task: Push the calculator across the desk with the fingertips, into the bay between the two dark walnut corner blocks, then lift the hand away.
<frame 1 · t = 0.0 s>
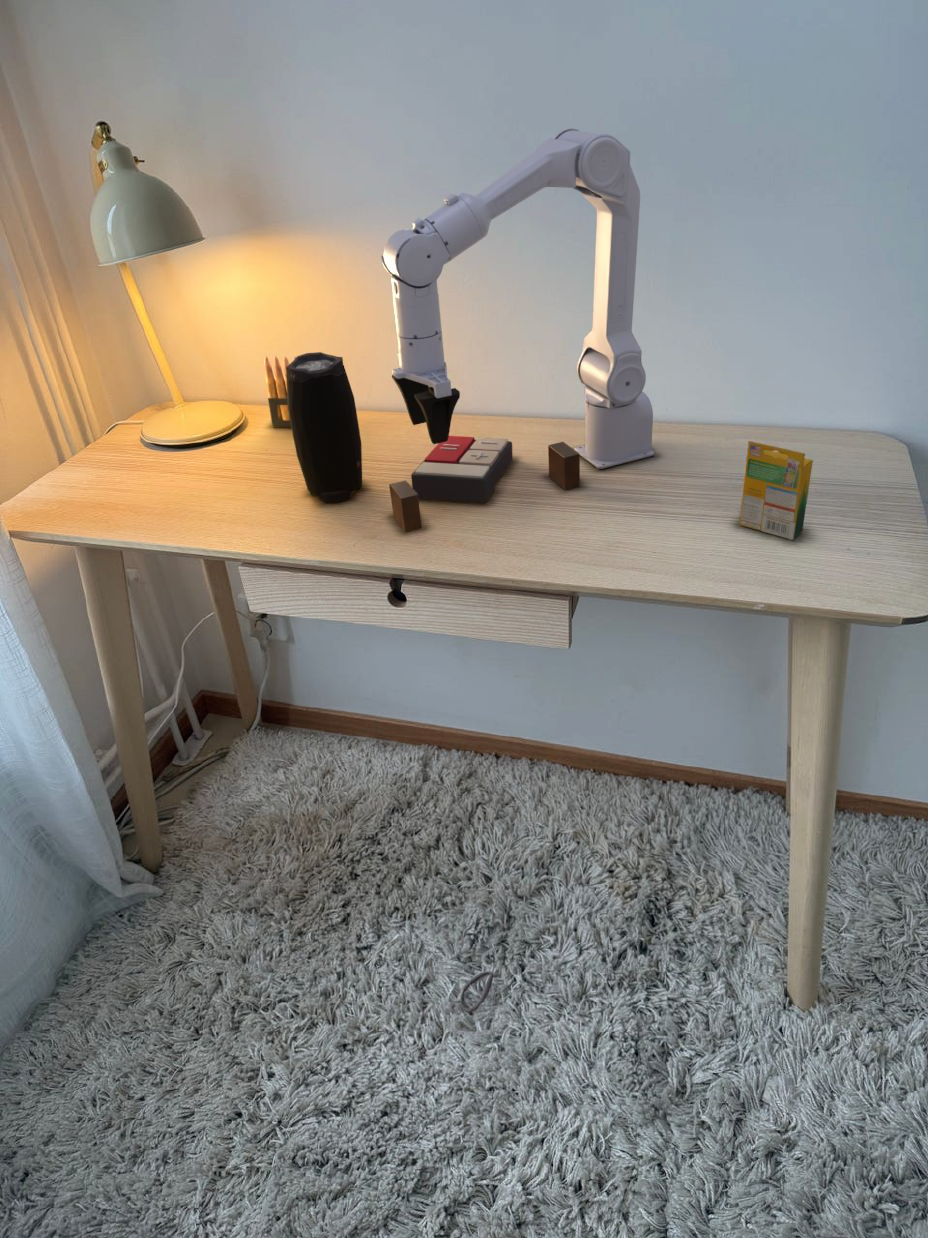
hand: (429, 432, 125), 10 cm above the table, tool pointing down, fingers open, 7 cm apart
corner blocks: (487, 501, 128), on the table
ammunition clip: (303, 426, 157), on the table
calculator: (464, 479, 135), on the table
crayon box: (770, 529, 116), on the table
portable speaker: (336, 492, 135), on the table
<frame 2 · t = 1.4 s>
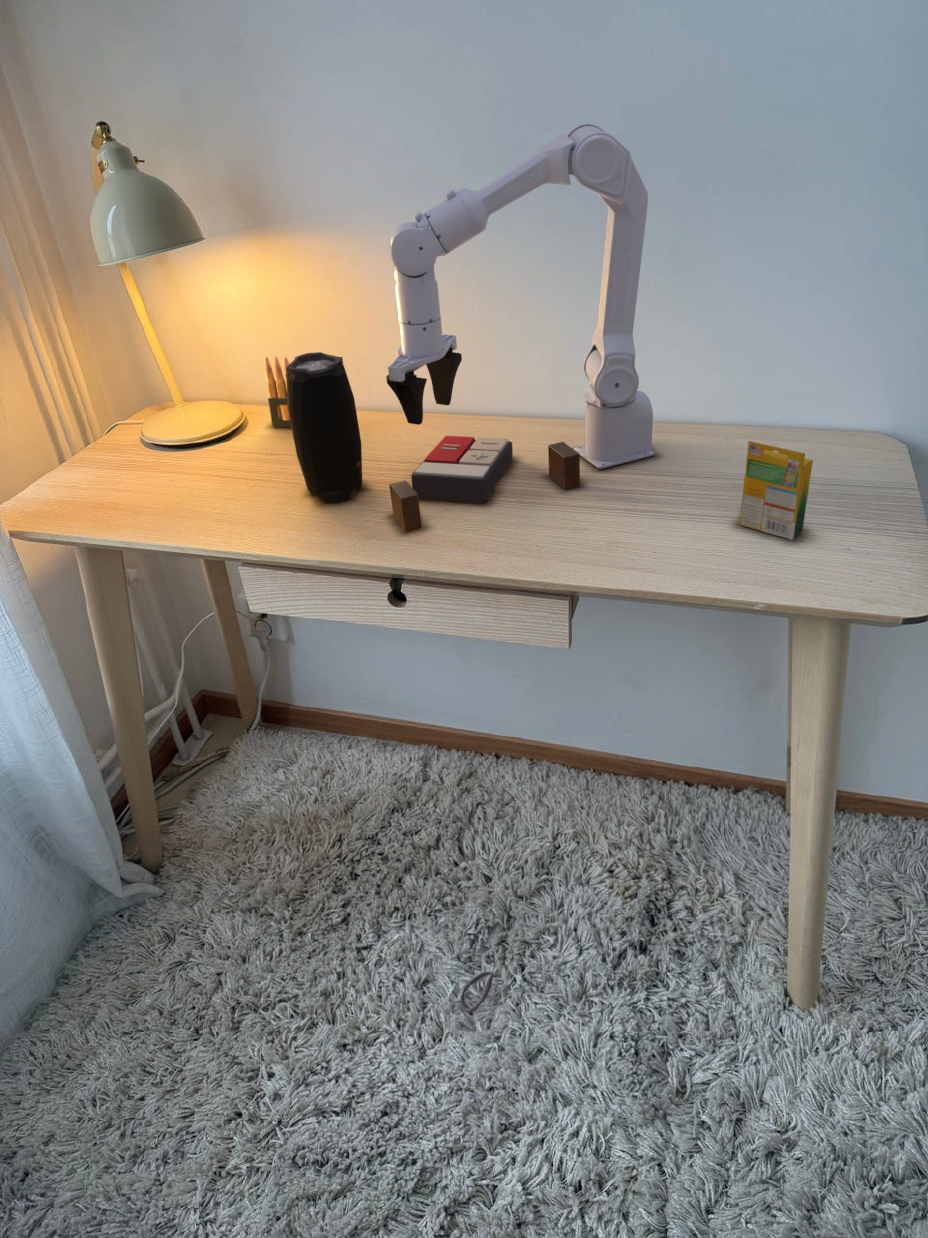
hand: (429, 413, 133), 9 cm above the table, tool pointing down, fingers open, 7 cm apart
nothing on the table moved.
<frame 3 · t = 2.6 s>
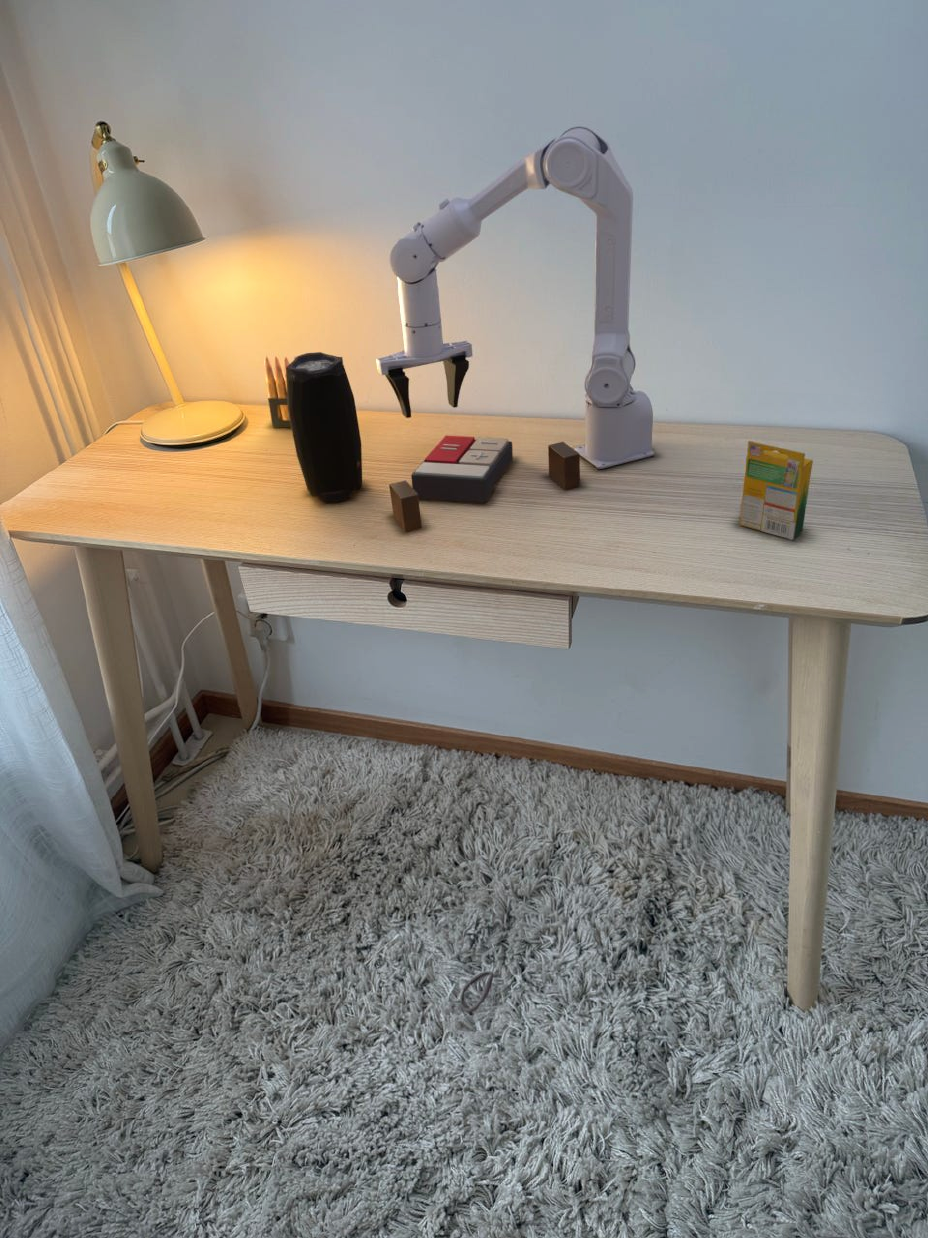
hand: (430, 410, 141), 6 cm above the table, tool pointing down, fingers open, 7 cm apart
nothing on the table moved.
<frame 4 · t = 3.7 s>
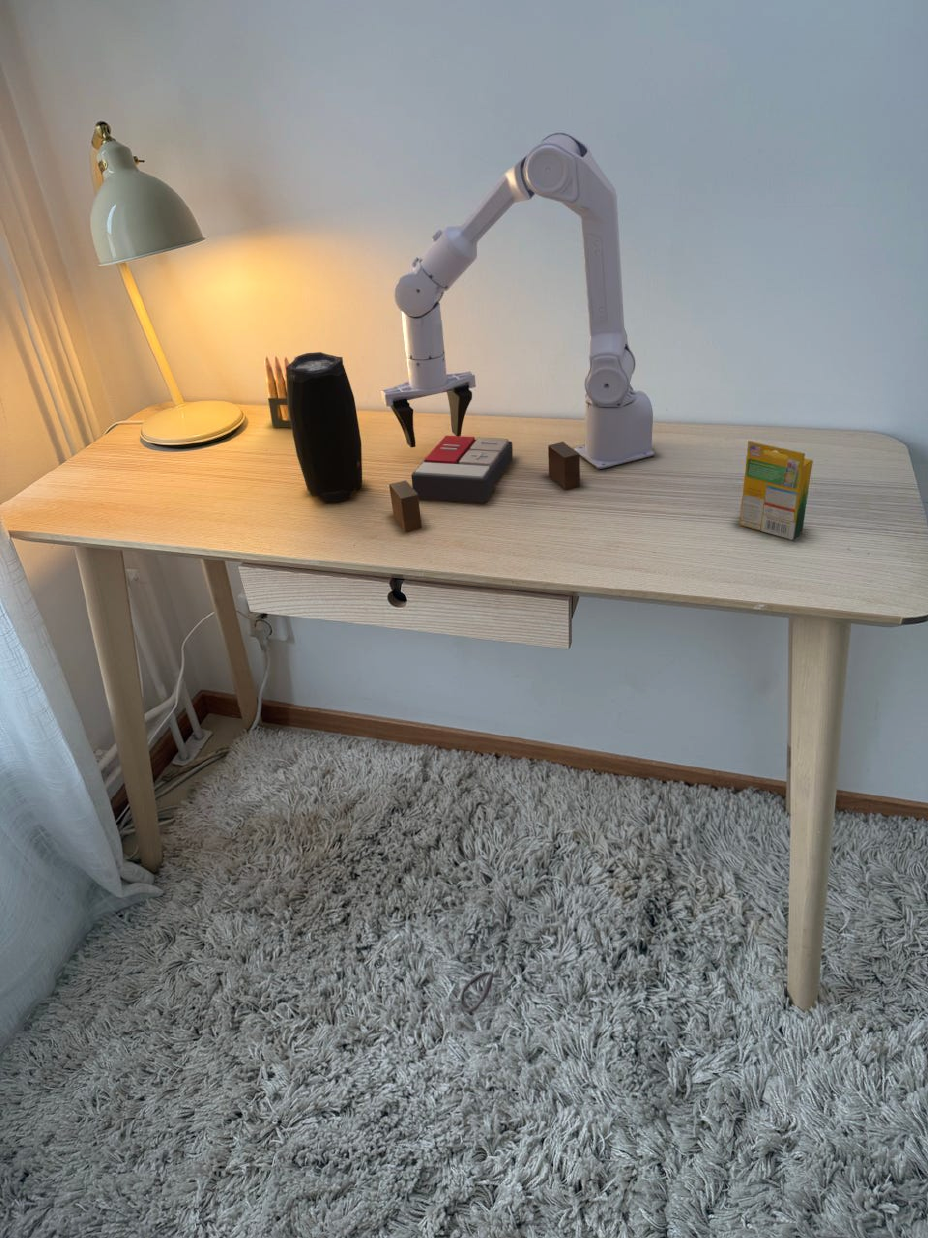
hand: (434, 439, 144), 2 cm above the table, tool pointing down, fingers open, 7 cm apart
nothing on the table moved.
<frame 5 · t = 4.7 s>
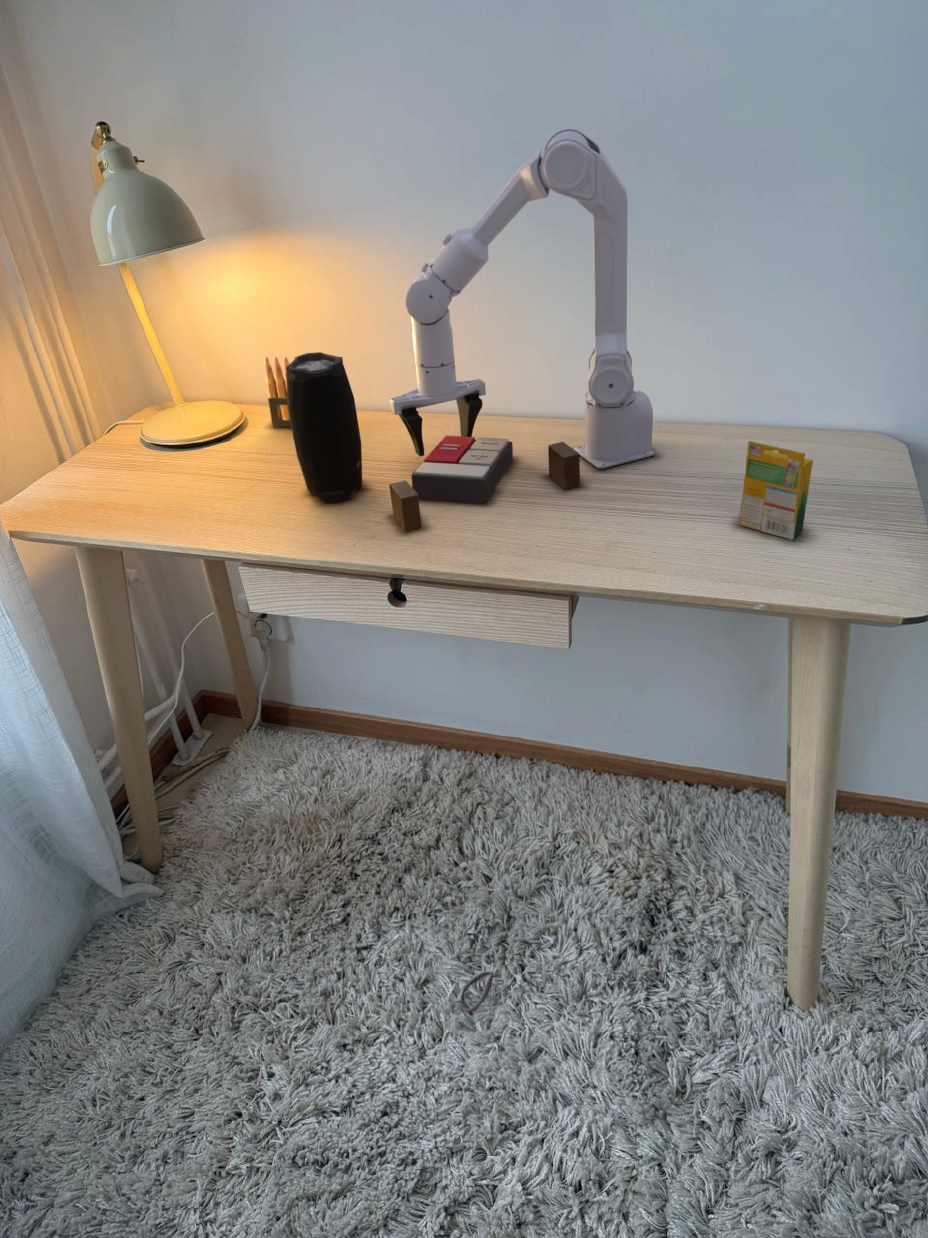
hand: (443, 448, 140), 2 cm above the table, tool pointing down, fingers open, 7 cm apart
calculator: (464, 479, 135), on the table, touching gripper
everything else where it was.
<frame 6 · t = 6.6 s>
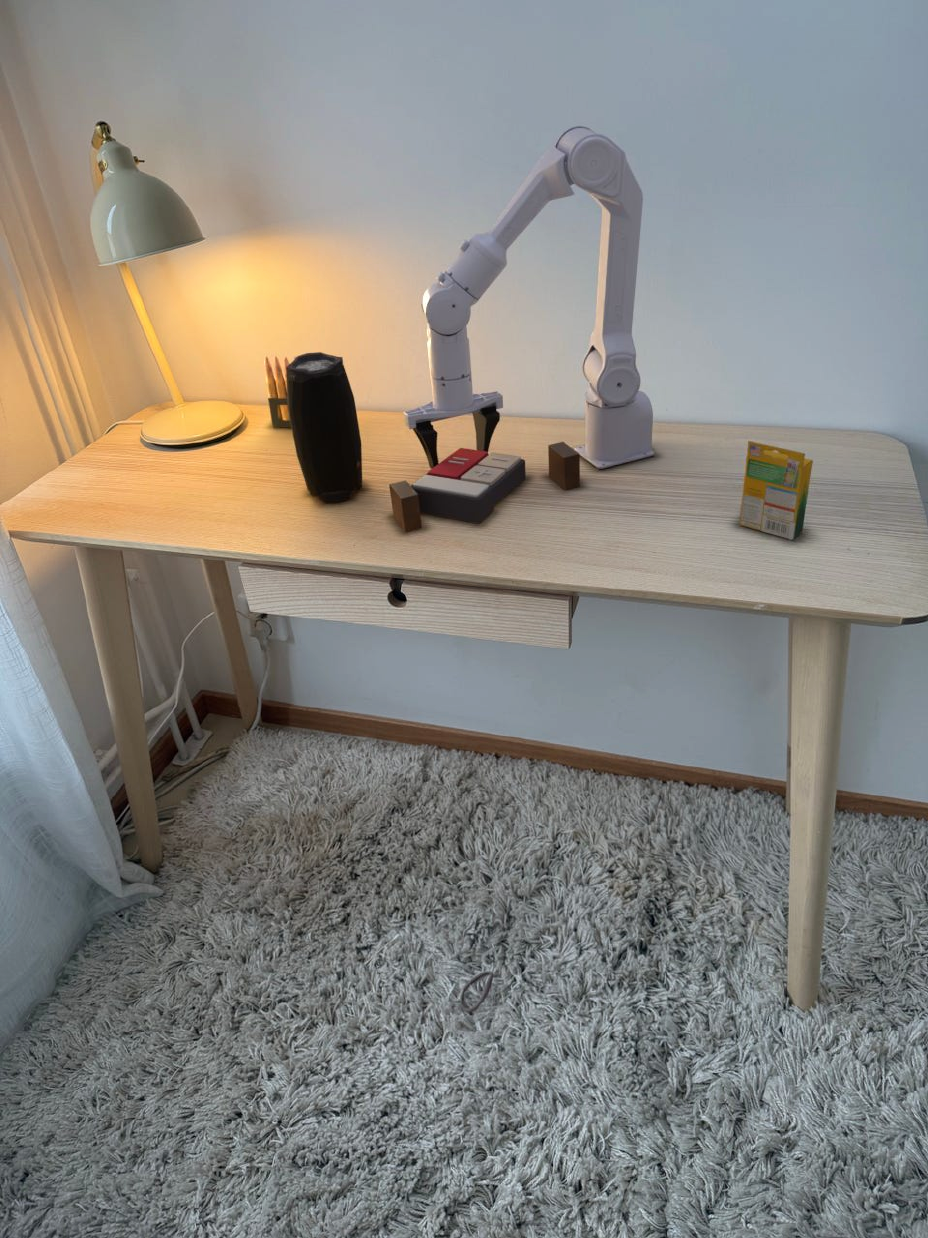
hand: (458, 462, 136), 2 cm above the table, tool pointing down, fingers open, 7 cm apart
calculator: (469, 495, 131), on the table, touching gripper
everything else where it was.
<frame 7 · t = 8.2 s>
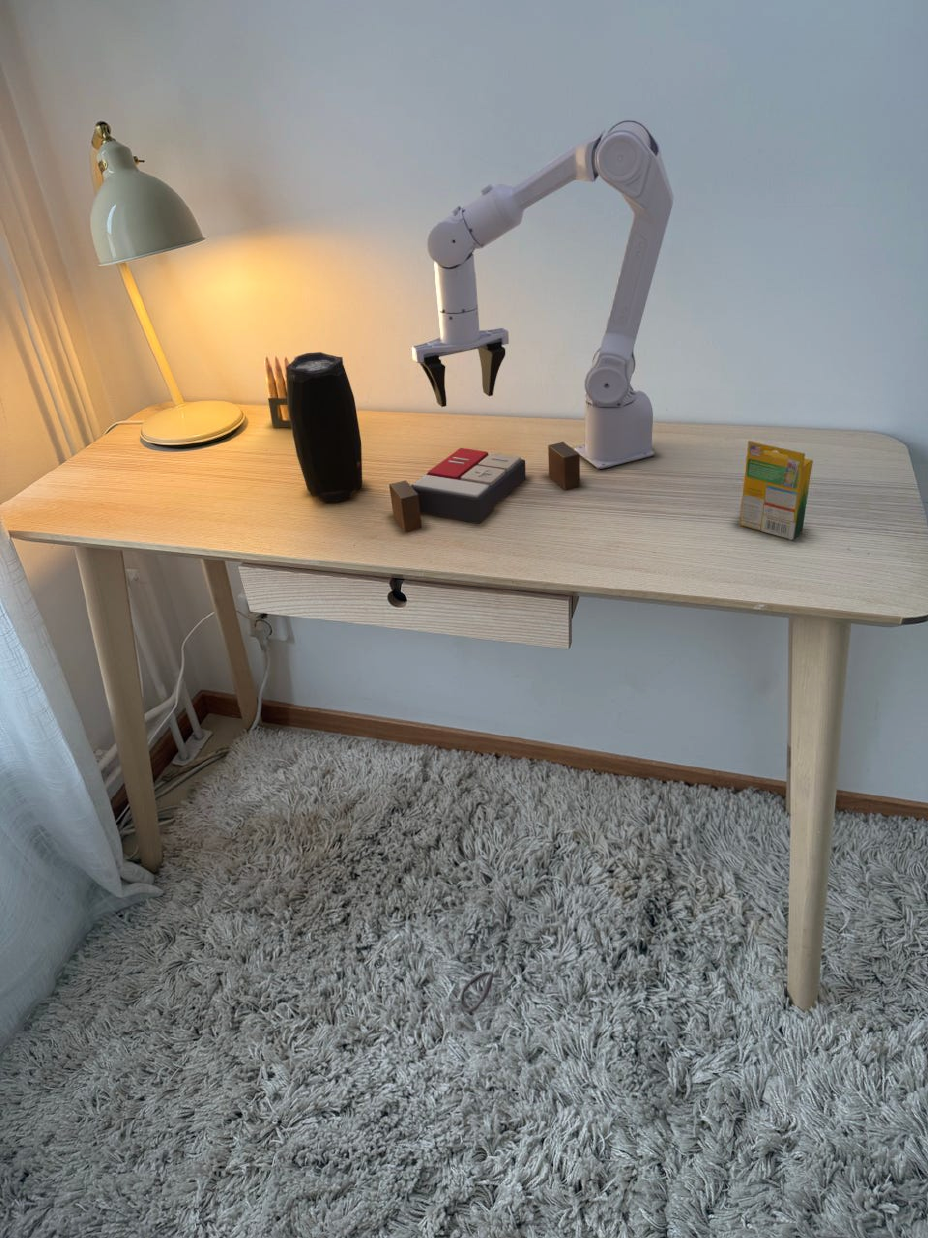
hand: (465, 399, 138), 8 cm above the table, tool pointing down, fingers open, 7 cm apart
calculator: (469, 495, 131), on the table
everything else where it was.
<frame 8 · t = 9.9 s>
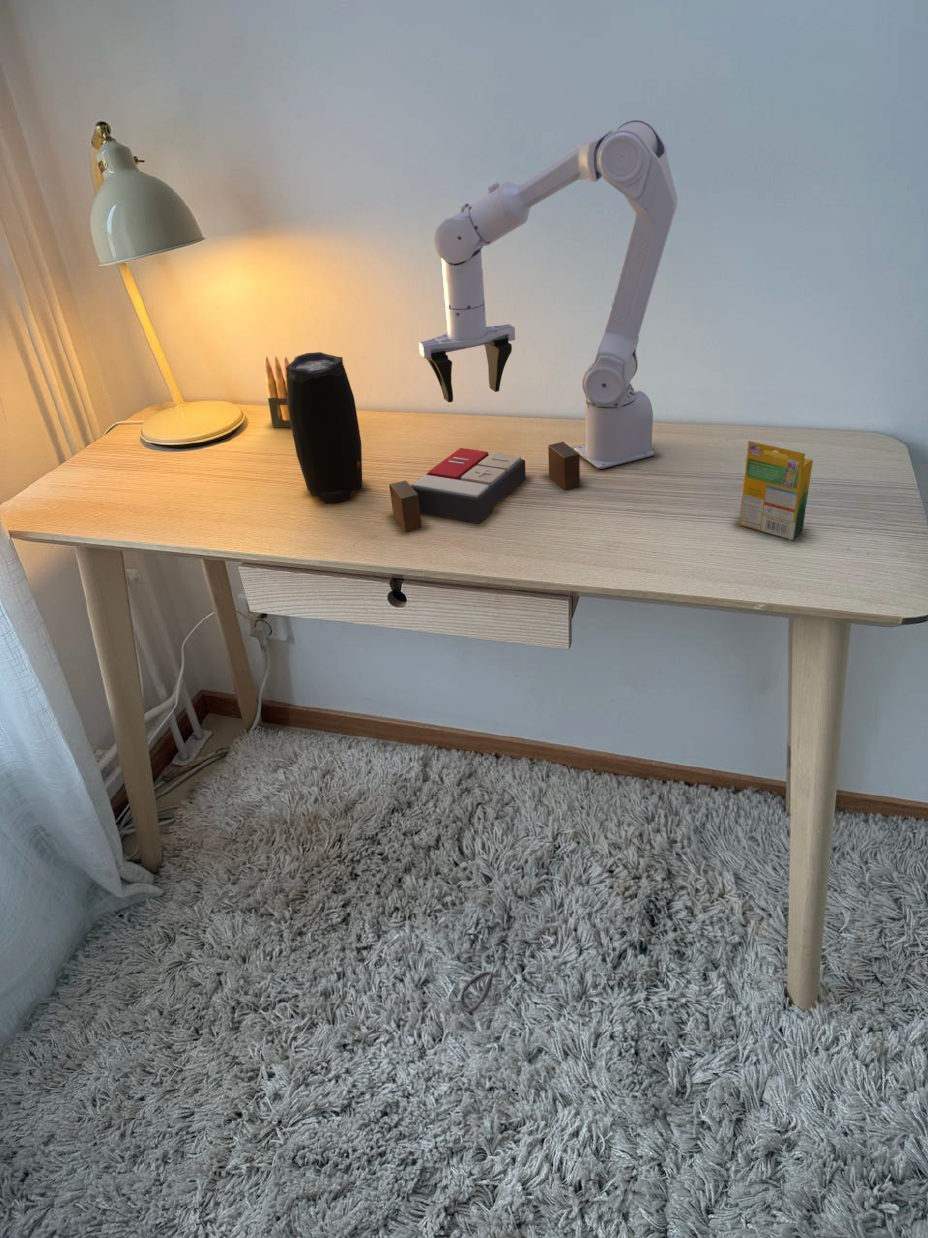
hand: (471, 394, 140), 8 cm above the table, tool pointing down, fingers open, 7 cm apart
nothing on the table moved.
at the end: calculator inside the target area (2.9 cm from its centre), on the table; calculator moved 5.4 cm from its start; the gripper is holding nothing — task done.
